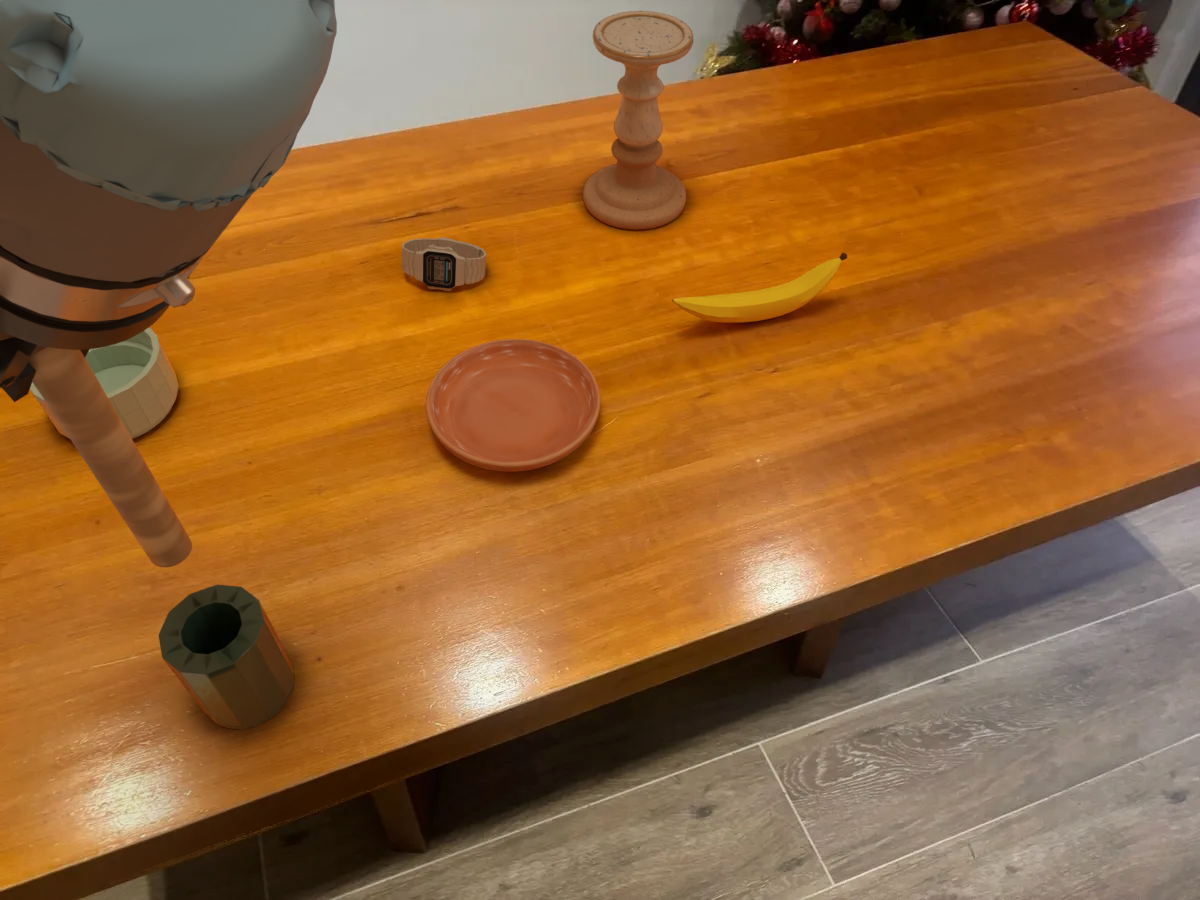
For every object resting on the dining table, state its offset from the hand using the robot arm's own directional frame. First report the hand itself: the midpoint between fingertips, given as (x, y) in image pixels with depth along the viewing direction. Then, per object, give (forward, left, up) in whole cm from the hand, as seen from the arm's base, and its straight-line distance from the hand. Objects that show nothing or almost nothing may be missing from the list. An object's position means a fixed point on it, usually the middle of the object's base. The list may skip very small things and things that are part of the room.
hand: (31, 360), depth 48 cm
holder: (+2, -6, -29) cm, 30 cm away
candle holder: (+56, +38, -29) cm, 74 cm away
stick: (+2, -3, -15) cm, 15 cm away
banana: (+58, +14, -29) cm, 67 cm away
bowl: (-3, +28, -29) cm, 40 cm away
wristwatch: (+31, +34, -29) cm, 54 cm away
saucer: (+30, +11, -29) cm, 43 cm away
